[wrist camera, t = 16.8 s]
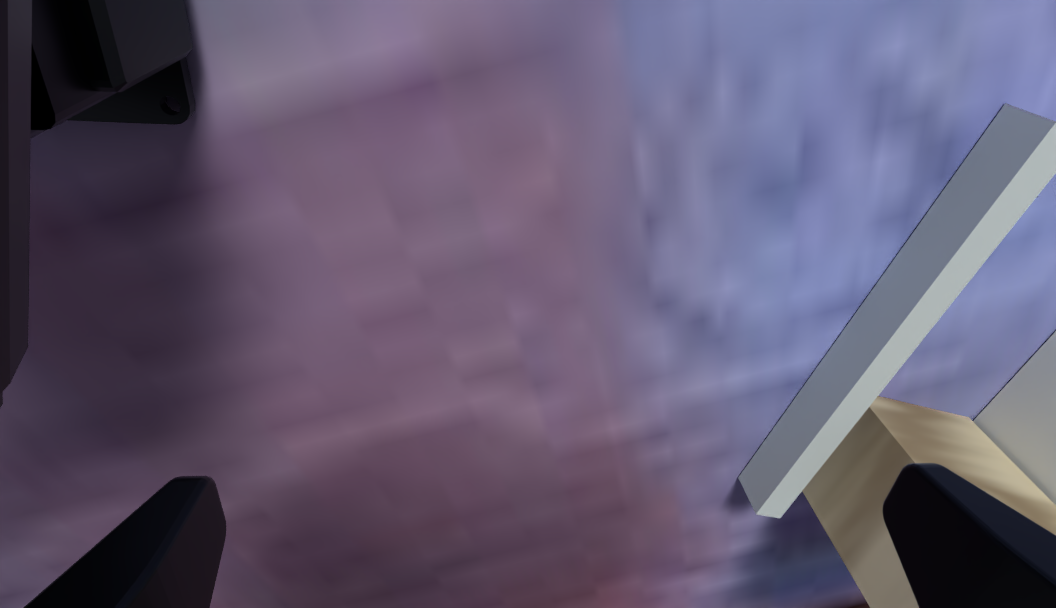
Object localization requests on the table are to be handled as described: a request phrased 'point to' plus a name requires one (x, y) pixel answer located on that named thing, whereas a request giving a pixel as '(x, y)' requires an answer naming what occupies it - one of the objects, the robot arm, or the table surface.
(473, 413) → the table surface
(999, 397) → the board
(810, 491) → the beige upright block
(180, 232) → the table surface
